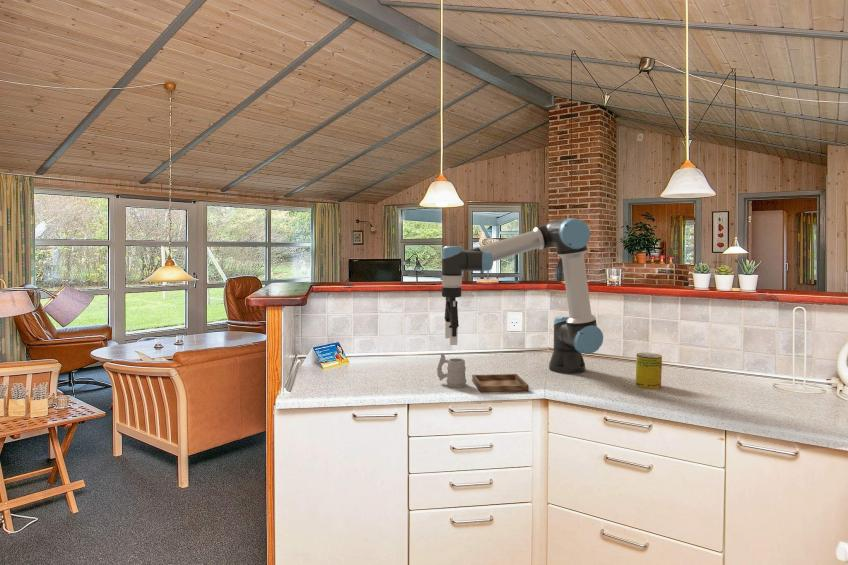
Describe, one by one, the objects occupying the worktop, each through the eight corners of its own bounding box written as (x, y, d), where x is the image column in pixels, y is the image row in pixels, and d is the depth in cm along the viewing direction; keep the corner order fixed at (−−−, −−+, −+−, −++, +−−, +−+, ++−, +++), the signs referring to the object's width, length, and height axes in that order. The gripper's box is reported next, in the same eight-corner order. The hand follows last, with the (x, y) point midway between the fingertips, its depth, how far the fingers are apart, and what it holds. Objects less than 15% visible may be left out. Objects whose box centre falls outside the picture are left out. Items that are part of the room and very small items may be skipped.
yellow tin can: (661, 390, 207) (662, 358, 206) (635, 387, 210) (636, 356, 209) (660, 384, 215) (661, 353, 214) (635, 381, 218) (636, 351, 217)
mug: (462, 388, 209) (462, 357, 208) (433, 385, 213) (433, 354, 212) (468, 383, 216) (469, 353, 215) (440, 380, 220) (440, 350, 219)
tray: (516, 379, 222) (516, 373, 221) (528, 391, 205) (528, 385, 205) (472, 380, 220) (472, 374, 220) (480, 392, 203) (480, 386, 203)
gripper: (438, 283, 223) (437, 335, 225) (446, 289, 199) (445, 348, 200) (456, 283, 224) (455, 335, 226) (467, 289, 199) (466, 347, 201)
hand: (451, 341), depth 213 cm, fingers open, 13 cm apart
